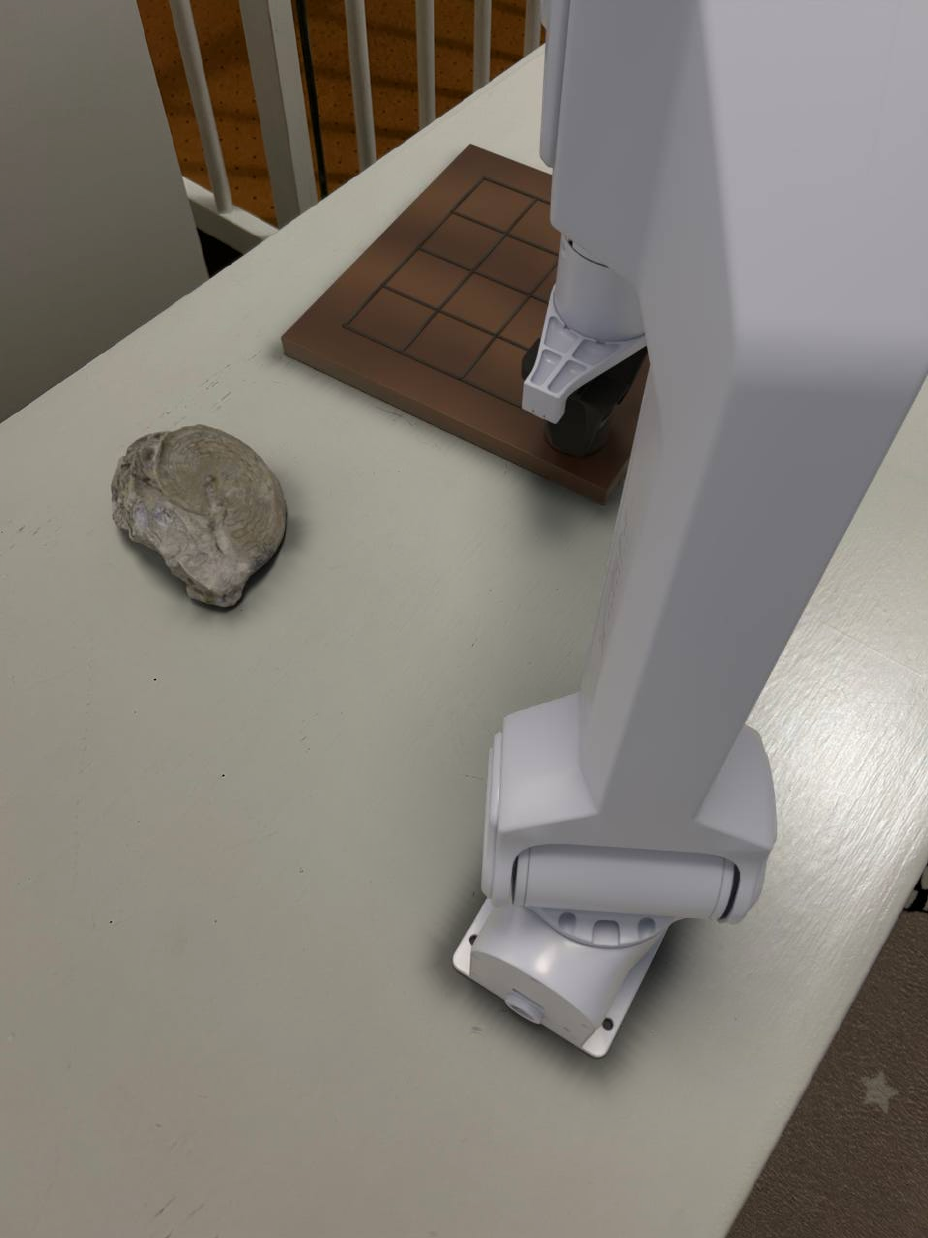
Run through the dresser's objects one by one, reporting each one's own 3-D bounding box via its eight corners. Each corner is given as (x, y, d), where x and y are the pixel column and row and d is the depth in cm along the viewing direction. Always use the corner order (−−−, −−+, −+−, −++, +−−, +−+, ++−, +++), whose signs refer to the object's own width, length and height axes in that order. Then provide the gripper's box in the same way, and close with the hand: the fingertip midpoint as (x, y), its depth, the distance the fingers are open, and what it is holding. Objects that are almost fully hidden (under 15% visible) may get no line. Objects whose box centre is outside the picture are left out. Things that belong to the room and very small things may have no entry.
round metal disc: (531, 435, 59) (533, 406, 57) (566, 395, 61) (570, 365, 59) (586, 465, 58) (591, 437, 56) (621, 424, 60) (627, 394, 57)
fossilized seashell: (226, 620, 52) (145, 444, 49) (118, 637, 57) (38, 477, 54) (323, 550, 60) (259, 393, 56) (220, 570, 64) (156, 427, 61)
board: (603, 505, 59) (607, 489, 57) (283, 353, 65) (279, 335, 63) (758, 273, 69) (764, 254, 68) (469, 160, 75) (469, 141, 74)
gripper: (629, 355, 42) (591, 534, 54) (758, 174, 48) (700, 370, 60) (489, 295, 44) (482, 481, 56) (632, 128, 50) (598, 327, 62)
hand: (588, 420), depth 58 cm, fingers open, 4 cm apart
